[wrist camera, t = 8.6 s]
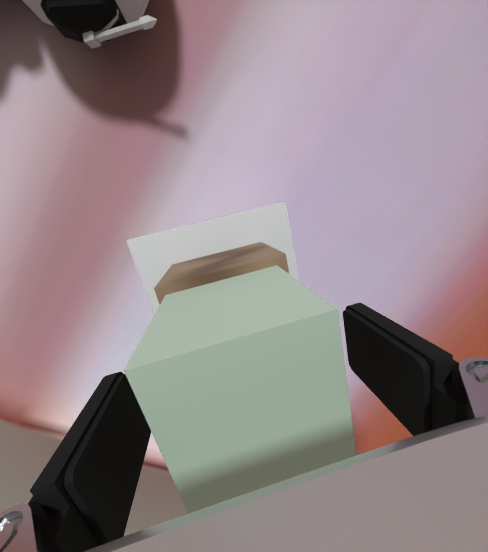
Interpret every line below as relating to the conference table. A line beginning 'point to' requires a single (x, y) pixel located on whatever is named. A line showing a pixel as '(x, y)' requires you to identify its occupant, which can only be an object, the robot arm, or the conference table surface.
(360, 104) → the conference table surface
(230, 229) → the build plate
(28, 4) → the robot toy
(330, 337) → the green block
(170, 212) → the conference table surface
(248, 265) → the walnut block
